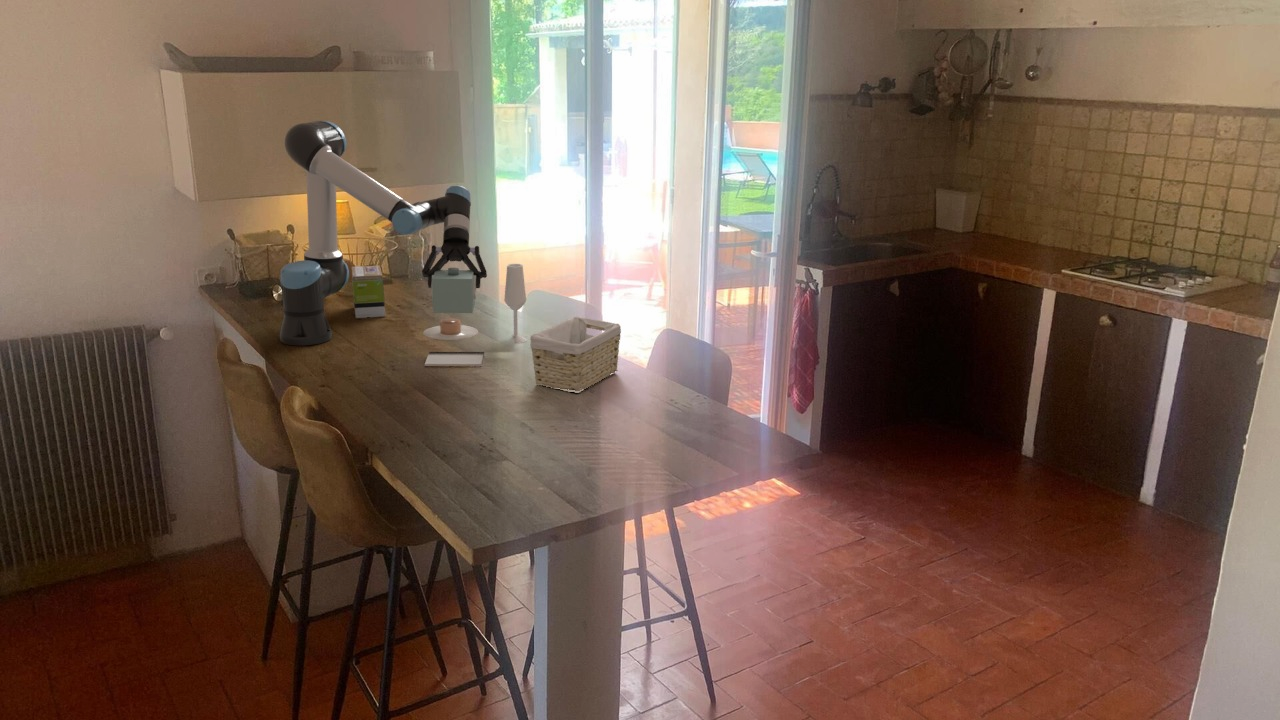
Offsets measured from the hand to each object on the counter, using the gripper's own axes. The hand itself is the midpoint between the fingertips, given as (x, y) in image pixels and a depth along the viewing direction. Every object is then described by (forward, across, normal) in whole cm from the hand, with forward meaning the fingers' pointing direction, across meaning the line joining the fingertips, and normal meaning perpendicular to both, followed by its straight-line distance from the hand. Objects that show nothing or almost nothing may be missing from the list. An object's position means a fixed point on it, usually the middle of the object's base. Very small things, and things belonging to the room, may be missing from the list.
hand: (453, 296), depth 271 cm
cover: (+1, 0, -4) cm, 4 cm away
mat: (+12, 0, -15) cm, 19 cm away
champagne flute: (-1, -17, -28) cm, 33 cm away
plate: (-4, +4, -31) cm, 31 cm away
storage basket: (+26, -35, -2) cm, 43 cm away
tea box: (-24, +34, -52) cm, 66 cm away
